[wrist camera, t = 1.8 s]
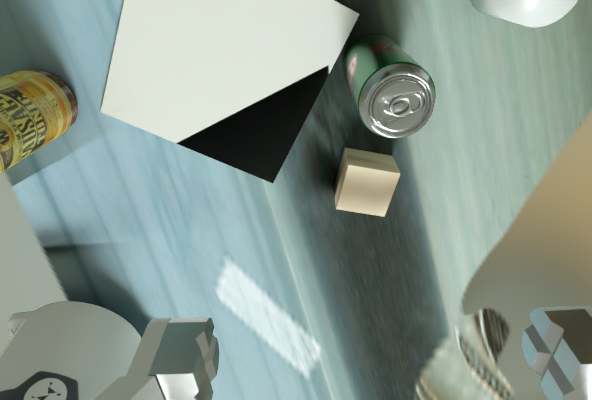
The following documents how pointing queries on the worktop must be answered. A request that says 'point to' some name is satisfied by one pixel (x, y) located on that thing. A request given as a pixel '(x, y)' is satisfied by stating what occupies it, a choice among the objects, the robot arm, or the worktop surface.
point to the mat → (225, 73)
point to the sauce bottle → (32, 113)
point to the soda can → (388, 87)
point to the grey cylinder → (526, 10)
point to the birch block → (365, 182)
